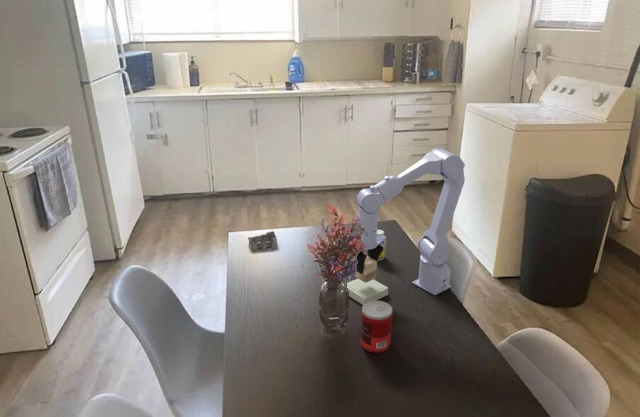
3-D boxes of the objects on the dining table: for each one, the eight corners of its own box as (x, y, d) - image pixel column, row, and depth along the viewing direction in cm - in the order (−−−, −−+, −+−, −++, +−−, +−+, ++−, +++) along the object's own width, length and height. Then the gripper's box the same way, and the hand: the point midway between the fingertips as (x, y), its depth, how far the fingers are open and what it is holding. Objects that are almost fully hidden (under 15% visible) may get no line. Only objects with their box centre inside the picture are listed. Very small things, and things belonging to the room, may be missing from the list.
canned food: (394, 340, 126) (397, 305, 122) (382, 357, 120) (384, 321, 115) (368, 331, 130) (370, 297, 126) (355, 347, 123) (356, 312, 119)
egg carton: (275, 240, 185) (275, 230, 183) (278, 248, 178) (278, 238, 176) (248, 242, 182) (247, 233, 181) (249, 251, 176) (249, 241, 174)
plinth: (387, 294, 147) (388, 287, 146) (364, 305, 141) (364, 298, 140) (365, 281, 154) (366, 274, 153) (342, 291, 149) (342, 284, 148)
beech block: (376, 278, 145) (377, 260, 143) (365, 282, 143) (366, 265, 140) (366, 272, 149) (366, 255, 146) (355, 276, 146) (356, 259, 144)
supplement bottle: (366, 256, 171) (367, 230, 168) (379, 252, 174) (380, 227, 170) (375, 262, 167) (376, 236, 163) (387, 259, 169) (389, 233, 165)
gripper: (375, 219, 147) (373, 258, 152) (340, 231, 138) (339, 271, 143) (392, 226, 142) (389, 266, 147) (356, 239, 133) (354, 281, 138)
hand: (365, 269), depth 145 cm, fingers closed on beech block, 4 cm apart
